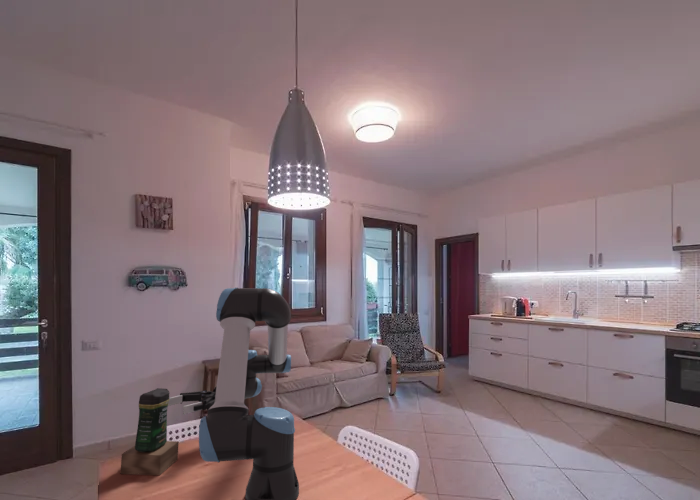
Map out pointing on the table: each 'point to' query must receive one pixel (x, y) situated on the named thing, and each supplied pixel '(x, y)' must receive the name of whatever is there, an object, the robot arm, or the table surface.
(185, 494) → the table surface
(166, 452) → the block
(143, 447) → the green supplement bottle
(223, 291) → the robot arm
